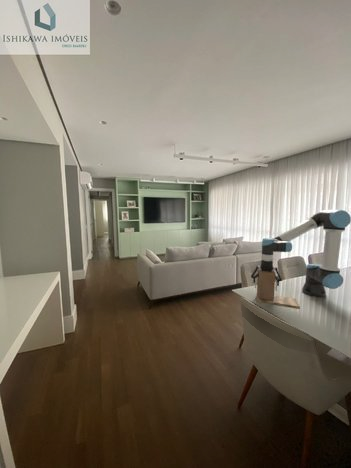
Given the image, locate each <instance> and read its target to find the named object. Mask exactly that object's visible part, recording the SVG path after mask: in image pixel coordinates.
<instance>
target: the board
mask: <svg viewBox="0 0 351 468" xmlns="http://www.w3.org/2000/svg"><path fill="white" fill-rule="evenodd" d="M256 302H259V303H265V304H270V305H278V306H283V307H289V308H296V309H300V307H301V306H300V305H299V302H298V300H297V298H294V297H288V296H280V295H275V294H274V300H265V299H259V297H258V295H257V294H256Z"/></svg>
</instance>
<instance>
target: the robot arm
mask: <svg viewBox="0 0 351 468" xmlns="http://www.w3.org/2000/svg"><path fill="white" fill-rule="evenodd" d="M350 224H351V215H350V214H349V213H348V211H346V210H344V209H325V210H321V211H319V212H317V213H315V214H313V215H311V216H309V217H307V219H306V220H305V221H303V222H301V223H299V224H297V225H296V226H294V227H292V228H290V229H288V230H286V231H284V232H283V233H281V234H279V235H277V236H276V237H267V238H262V242H261V254H260V255H261V258H260V259H261V261H260V265H256V267H255V269H254V270H253V272H252V273H251V275H250V278H251V279H253V281H252V282H253V284H254V288H256V289H257V279H258V276H259V273H258V269H261V270H262V271H269V272H272V270H273V271H274V272H275V274H276V275H275V289H274V291H278V287H279V286H280V282H282V281H283V279H282V277H281V274H280V273H279V270H278V267H277V266H276V267H275V266H273V264H274V263H273V262H274V253H290V252H292V249H293V244H292V242H291V241H293V240H294V239H297V238H298V237H300V236H302V235H304V234H306V233H308V232H309V231H311V230H315V229H318V228H320V227H322V228H323V229H322V230H324V231H325V234H324V243H323V252H322V261H321V264H318V263H308V264H306V268H305V269H306V271H305V281H304V284H303V286H302V288H301V291H302V293H304V294H305V295H307V296H311V297H315V298H325V297H326V296H327V291H326V289H325V288H327V289H329V290H330V289H331V290H335V289H338V288H339V287H341V286H342V285H343V283H344V277H343V276H342V275H341V269H340V268H339V267H338V266H339V260H340V259H339V258H340V248H341V240H342V233H343V232H345V231H346V227H348V226H349V225H350Z"/></svg>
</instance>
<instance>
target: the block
mask: <svg viewBox="0 0 351 468" xmlns="http://www.w3.org/2000/svg"><path fill="white" fill-rule="evenodd" d="M257 273H259V276H258V277H257V278H256V296H257V295H258V297H259V299H265V300H274V295H275V286H276V279H275V276H276V272H275V270H274V269H273V270H272V272H269V271H262V270H261V268H259V269H258V270H257Z"/></svg>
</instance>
